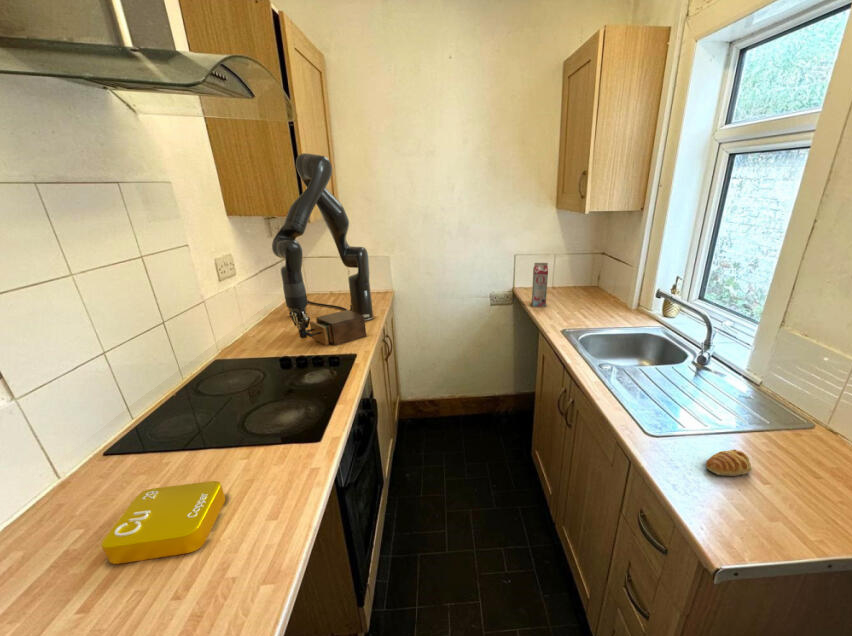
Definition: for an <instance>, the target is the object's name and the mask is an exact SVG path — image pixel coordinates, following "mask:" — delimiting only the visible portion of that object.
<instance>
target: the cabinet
mask: <svg viewBox="0 0 852 636" xmlns="http://www.w3.org/2000/svg"><path fill="white" fill-rule="evenodd" d="M318 320H320V321H322V322H324V323H327V324H329V325H331V329H332V336H333V342H329V341H328V343H329V344H331V345H333V346H338V345H342V344H345V343H348V342H351V341H356V340H359V339H362V338H365V337H367V328H366V321H365V320H364V316H363V315H360V314H358V313H355V312H352V311H350V309H347V310H342V311H336V312H333V313H329V314H328V313H327V314H324V315H321V316H316V317H315V321H318Z"/></svg>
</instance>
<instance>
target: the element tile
mask: <svg viewBox="0 0 852 636" xmlns="http://www.w3.org/2000/svg"><path fill="white" fill-rule="evenodd" d="M225 502H226V496H225V493H224V490H223V486H222V483H221V482H220V481H217V480H210V481H209V480H208V481H203V482H195V483H185V484H178V485H177V484H176V485H171V486H170V485H169V486H163V487H154V488H153V487H152V488H149V489H144V490H143V491H141V492H140V493H139V494H138V495H136V497H135V498H134V499H133V501H131V503H130V504H129V505H128V506H127V508H126V509H125V511H124V512H123V513H122V515H121V516H120V517H119V518H118V520H117V521H116V522H115V523H114V525H113V526H112V527H111V529H110V530H109V531H108V532H107V534H106V535H105V536H104V538H103V539H102V541H101V543H100V545H101V548H102V551H103V552H104V555H105V556H106V558H107V560H108V561H109V563H110V564H112V565H113V564H114V565H119V564H126V563H132V562H139V561H145V560H152V559H159V558H166V557H172V556H178V555H179V556H180V555H185V554H189V553H193V552H196V551H197V550H199V549H201V547H202V546H204V544H205V543H206V541H207V540H208V537H209V535H210V533H211V531H212V529H213V527H214V525H215V523H216V521H217V518H218V516H219V514H220V512H221V511H222V508H223V506H224V504H225Z"/></svg>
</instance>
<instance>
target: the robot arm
mask: <svg viewBox="0 0 852 636" xmlns="http://www.w3.org/2000/svg"><path fill="white" fill-rule="evenodd" d="M295 166H296V167H295V168H296V170H297V173H298V175H299V177H300V179H301V181H302V183H303V185H304V186H305V190H304V191H303V192H302V193H301V194H300V195H299V196H298V197H297V198H296V199H295V200H294V201H293V203H292V204H291V205H290V207H289V209H288V211H287V213H286V217H285V219H284V223H283V225H282V226H281V227H280V228H279V230H278V232H277V233H276V235H274V238H273V239H272V243H271V250H272V253H273V255H274V256H275V257H278V258H280V259H284V260H285V265H283V266H281V267H280V276H281V281H282V290H283V295H284V300H285V306H286V307H287V309H288V308H291V310H292V312H290V311H289V312H288V314H289V317H290V318H291V320H292V322H293V324H294V326H295V327H296V328H297V329H298V335H299V338H301V339H306V338H307V337H308V336H307V334H306V330H307V329H308V328H309V327H310V321H311V317H310V316H307V310H306V311H305V309H304V308H305V307H306V308H307V307H308V305H309V304H311V305H315V306H323V307H329V308H336V309H340V310H342V311H345V310H348V309H347V308H345V307H342V306H338V305H333V304H326V303H320V302H315V301H310V300H308V297H307V290H306V286H305V282H304V278H303V272H302V267H303V255H304V254H303V248H302V246H301V244H300V243H299V241H298V240H297V238H298V237H301V236H303V235H304V233H305V232H306V229H307V226H308V224H309V221H310V217H311V215H312V213H313V210H314V209H315V207H317V208H318V211H319V213H320V215H321V218H322V219H323V221H324V223H325V226H326V227H327V229H328V231H329V233H330V235H331V237H332V240H333V241H334V244H335V247H336V249H337V252H338V255H339V257H340V260H341V262H342V264H343V265H344V266H345V267H346V268H350V269H351V268H352V269H357V273H355V274H352V275H350V276H348V277H347V278H348V279H347V280H348V287H349V296H350V299H349V301H350V305H349V310H350V311H352V312H355V313H358V314H360V315H363V316H364V320H365V322H367V321H372V320H373V319H374V312H373V301H372V293H371V285H370V262H369V261H370V259H369V253H368V251H367V249H366V247H363V246H351V245H350V244H349V242H348V241H347V234H348V231H349V227H350V220H349V217H348V214H347V211H346V210H345V208H344V206H343V204H342V203H341V202H340V200H338V199H337V198H336V196H335V195H334V194H332V192H331V191H329V189H328V188H327V186H328V184H329V182H330V180H331V177H332V175H333V165H332V162H331V161H330V159H329V158H328V157H327V156H324V155H321V154H314V153H306V152H305V153H300V154H299V155H298V156H297V157H296V160H295Z"/></svg>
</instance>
